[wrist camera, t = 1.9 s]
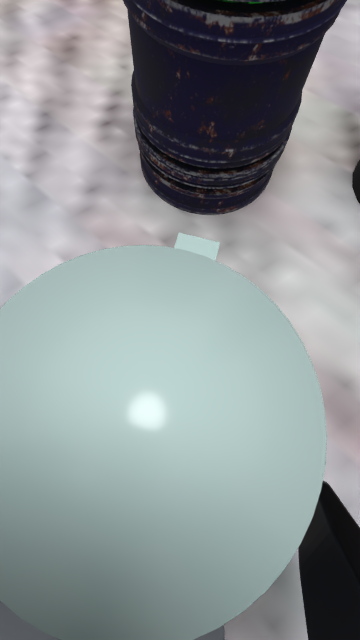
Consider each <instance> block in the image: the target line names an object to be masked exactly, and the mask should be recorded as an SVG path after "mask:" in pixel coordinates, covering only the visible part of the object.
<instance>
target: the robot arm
mask: <svg viewBox="0 0 360 640" xmlns="http://www.w3.org/2000/svg"><path fill="white" fill-rule="evenodd" d="M298 548H299V569H300V578H301V586H302V594H303V602H304V610H305V618H306V625H307V633H308V640H360V527H359V526H358V525H357V523H356V522H355V520H354V519H353V518H352V516H351V515H350V513H349V512H348V510H347V509H346V508H345V506H344V505H343V503H342V502H341V501H340V499H339V498H338V496H337V495H336V494H335V492H334V491H333V489H332V488H331V487H330V485H329V484H328V483H327V482H325V481H323V482H322V487H321V492H320V495H319V498H318V502H317V505H316V508H315V512H314V515H313V518H312V520H311V522H310V524H309V527H308V529H307V531H306V533H305V535H304V538H303V540H302V542H301V544H300V546H299V547H298Z"/></svg>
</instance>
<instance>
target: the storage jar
mask: <svg viewBox="0 0 360 640" xmlns="http://www.w3.org/2000/svg"><path fill="white" fill-rule="evenodd" d="M123 1H124V4H125V6H126V7H127V9H128V19H129V28H130V37H131V46H132V55H133V65H134V71H133V74H132V84H131V86H132V94H133V105H134V109H133V116H134V124H135V132H136V138H137V141H138V144H139V150H140V159H141V167H142V171H143V174H144V177H145V179H146V181H147V183H148V184H149V186H150V187H151V188H152V190H153V191H154V192H155V193H156V194H157V195H158V196H159V197H160V198H161V199H163V200H164V201H166V202H167V203H169V204H170V205H172V206H174V207H177V208H179V209H181V210H184V211H187V212H191V213H196V214H205V215H215V214H224V213H228V212H232V211H235V210H238V209H240V208H243V207H244V206H246V205H248V204H249V203H251V202H252V201H254V200H255V199H256V198H257V197H258V196H259V195H260V194H261V193H262V191H263V190H264V189H265V187H266V185H267V184H268V182H269V179H270V177H271V174H272V171H273V168H274V166H275V165H276V163H277V161H278V160H279V158H280V156H281V154H282V153H283V151H284V148H285V146H286V144H287V141H288V139H289V136H290V133H291V129H292V125H293V122H294V120H295V118H296V115H297V113H298V110H299V107H300V104H301V97H302V89H303V87H304V84H305V82H306V79H307V77H308V74H309V72H310V69H311V67H312V64H313V62H314V60H315V57H316V55H317V52H318V50H319V47H320V45H321V42H322V40H323V37H324V35H325V33H326V31H327V30H328V29H329V28H330V27H331V26H332V25H333V23H334V22H335V20H336V18H337V17H338V15H339V13H340V10H341V8H342V7H343V6H344V4H345V2H346V1H347V0H123Z"/></svg>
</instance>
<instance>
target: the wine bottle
mask: <svg viewBox="0 0 360 640" xmlns="http://www.w3.org/2000/svg"><path fill="white" fill-rule="evenodd" d="M353 188H354V191H355V194H356V197H357V200H358V201H359V203H360V160H359V161H358V163H357V166H356V168H355V170H354V172H353Z"/></svg>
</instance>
